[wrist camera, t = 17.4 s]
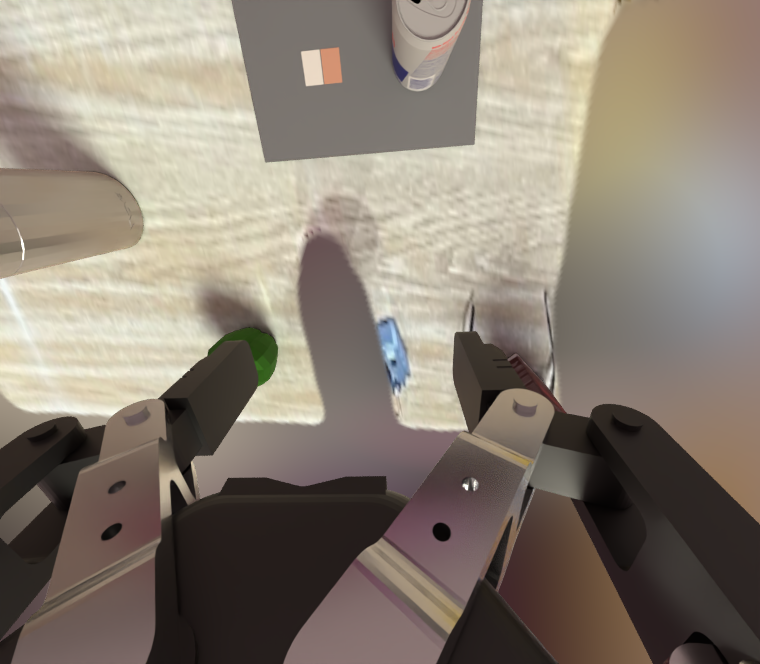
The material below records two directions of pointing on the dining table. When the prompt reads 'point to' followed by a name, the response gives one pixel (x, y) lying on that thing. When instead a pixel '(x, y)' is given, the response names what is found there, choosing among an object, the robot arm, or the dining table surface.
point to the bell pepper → (255, 350)
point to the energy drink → (424, 38)
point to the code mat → (349, 80)
